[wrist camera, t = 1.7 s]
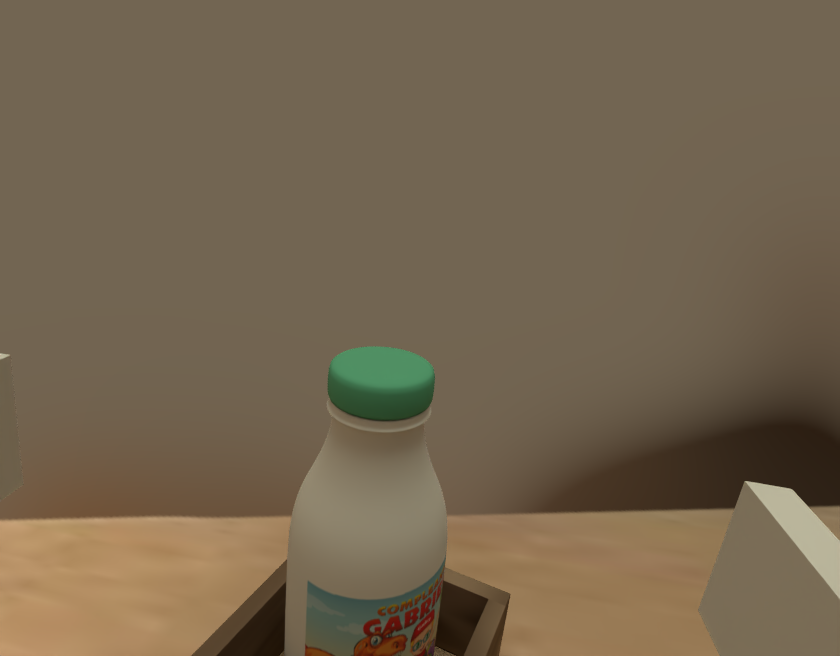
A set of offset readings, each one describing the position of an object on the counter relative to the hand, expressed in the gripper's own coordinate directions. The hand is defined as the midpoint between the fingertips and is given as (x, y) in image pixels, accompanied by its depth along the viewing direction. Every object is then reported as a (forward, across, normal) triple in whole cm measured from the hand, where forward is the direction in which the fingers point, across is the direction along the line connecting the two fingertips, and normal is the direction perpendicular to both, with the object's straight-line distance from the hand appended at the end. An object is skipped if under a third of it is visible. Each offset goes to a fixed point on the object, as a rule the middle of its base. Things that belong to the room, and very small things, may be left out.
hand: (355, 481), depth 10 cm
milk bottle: (+14, -1, -23) cm, 27 cm away
